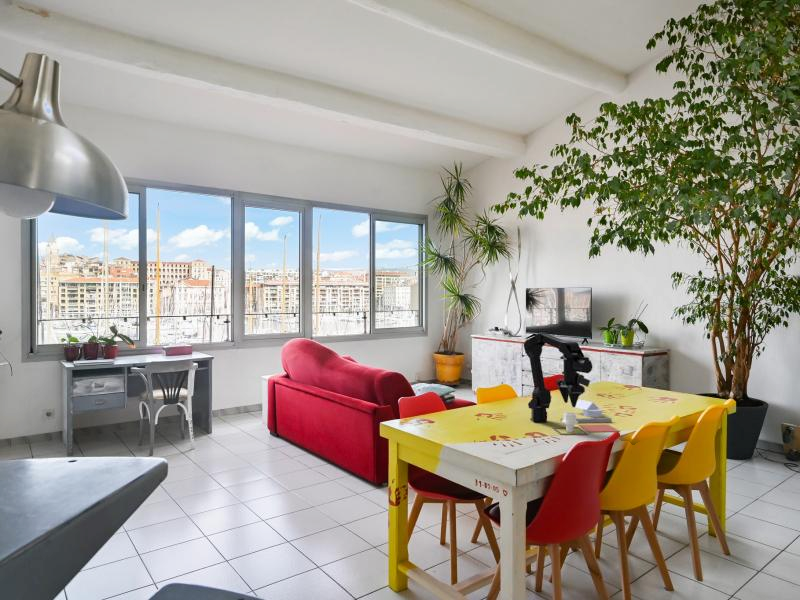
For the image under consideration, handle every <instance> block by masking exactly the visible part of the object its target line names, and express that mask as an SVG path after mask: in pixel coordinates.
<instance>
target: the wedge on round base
mask: <svg viewBox="0 0 800 600" xmlns="http://www.w3.org/2000/svg"><path fill="white" fill-rule="evenodd" d="M574 408H577V409H581V410H582V414H583V416H584V417H585V418H586V417H587V418H603V409H602V408H600V407H599V406H597V405H596V404H595V403H594V402H593V401H589V400H584V399H580V398H578V400H577V403H576V406H575V407H574Z"/></svg>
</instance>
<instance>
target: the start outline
mask: <svg viewBox="0 0 800 600" xmlns="http://www.w3.org/2000/svg"><path fill="white" fill-rule="evenodd" d="M551 429H553V430H554V431H555V432H557V433H558V434H559V435H561V436H568V435H570V436H573V435H577V436H578V435H579V436H580V435H583V436H584V435H586V436H587V435H589V432H588V431H587V432H586V430H585V429H583V428H582V427H580V426H574V429H578V430H579V431H581V432H582V433H579V432H577V433H576V432H575V433H574V432H567V433H561V432H560V431H559V430H557V429H566V426H565V427H562V426H558V427H557V426H553V427H551Z"/></svg>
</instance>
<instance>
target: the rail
mask: <svg viewBox="0 0 800 600" xmlns="http://www.w3.org/2000/svg"><path fill="white" fill-rule="evenodd" d="M563 419H564V418H560V422H561V421H562V420H563ZM576 420H577V421H578V424H580V423H581V424H584V423H585V424H587V423H589V424H590V423H592V424H595V423H596V424H597V423H600V424H601V423H605V424H607V423H612V418H610V417H599V418H592V417H587V418H586V417H585V418H582V417H581V418H577V417H576ZM561 423H562V422H561Z"/></svg>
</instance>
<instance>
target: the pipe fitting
mask: <svg viewBox="0 0 800 600" xmlns="http://www.w3.org/2000/svg"><path fill="white" fill-rule="evenodd" d="M576 418H577V413H575V412H571V411H569V412H568V411H566V412H564V413H563V418H562V419H563V420H562V421H561V423H562V424H565V427H566V428H565V431H566V432H567V433H574V430H575V428H574V427H575V426H574V425H579V423H578V421H577V420H576Z"/></svg>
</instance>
